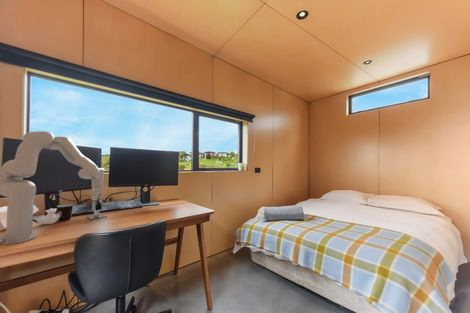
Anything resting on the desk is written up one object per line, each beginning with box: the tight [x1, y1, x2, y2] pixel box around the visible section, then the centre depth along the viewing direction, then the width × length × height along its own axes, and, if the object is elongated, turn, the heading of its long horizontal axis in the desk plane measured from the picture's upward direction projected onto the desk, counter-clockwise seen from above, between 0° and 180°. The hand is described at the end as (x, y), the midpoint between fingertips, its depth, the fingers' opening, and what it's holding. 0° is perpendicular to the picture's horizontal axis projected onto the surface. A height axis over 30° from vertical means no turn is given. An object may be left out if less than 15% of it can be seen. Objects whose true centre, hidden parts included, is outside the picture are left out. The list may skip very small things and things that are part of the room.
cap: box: [91, 200, 104, 212], centre depth 147 cm, size 5×5×7 cm
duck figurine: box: [37, 208, 60, 226], centre depth 131 cm, size 12×8×11 cm
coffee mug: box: [54, 203, 74, 222], centre depth 140 cm, size 12×9×10 cm
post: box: [86, 210, 108, 221], centre depth 147 cm, size 10×10×7 cm
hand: (97, 208), depth 147 cm, fingers closed on cap, 5 cm apart
